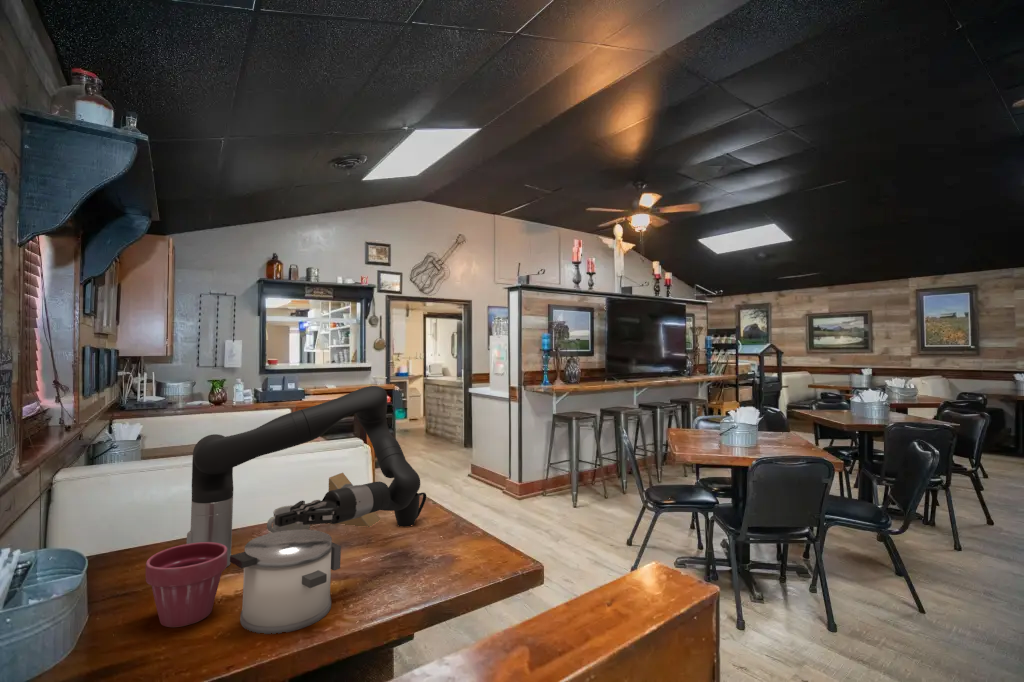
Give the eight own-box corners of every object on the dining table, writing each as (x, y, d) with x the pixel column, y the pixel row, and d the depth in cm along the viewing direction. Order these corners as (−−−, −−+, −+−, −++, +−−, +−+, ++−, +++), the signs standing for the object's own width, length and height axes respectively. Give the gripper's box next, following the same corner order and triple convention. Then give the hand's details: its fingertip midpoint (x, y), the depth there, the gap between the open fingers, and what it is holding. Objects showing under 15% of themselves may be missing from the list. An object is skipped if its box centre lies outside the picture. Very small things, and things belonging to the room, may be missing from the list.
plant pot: (134, 641, 96) (137, 572, 96) (153, 607, 109) (155, 546, 109) (221, 626, 101) (223, 561, 102) (229, 595, 114) (231, 538, 115)
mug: (433, 521, 168) (433, 492, 168) (403, 530, 159) (403, 499, 159) (417, 516, 173) (418, 488, 174) (388, 524, 165) (388, 494, 165)
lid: (256, 579, 94) (257, 568, 94) (216, 556, 105) (217, 546, 105) (347, 550, 110) (347, 541, 110) (304, 533, 120) (305, 524, 120)
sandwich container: (370, 528, 161) (371, 480, 161) (327, 524, 164) (328, 477, 165) (382, 520, 169) (384, 474, 170) (341, 516, 172) (342, 471, 173)
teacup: (298, 528, 160) (299, 502, 160) (318, 535, 153) (319, 508, 154) (254, 540, 148) (255, 512, 149) (274, 549, 142) (275, 520, 142)
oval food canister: (273, 649, 94) (275, 583, 94) (219, 610, 108) (221, 553, 108) (361, 609, 109) (363, 552, 110) (304, 579, 123) (306, 529, 123)
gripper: (332, 482, 124) (261, 497, 110) (366, 492, 116) (293, 509, 102) (331, 513, 124) (260, 532, 110) (365, 525, 115) (292, 547, 102)
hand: (276, 521), depth 106 cm, fingers closed
